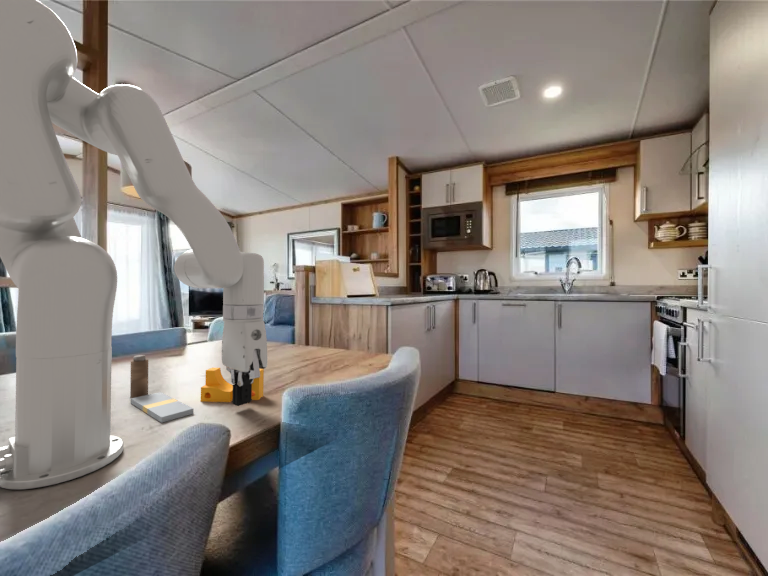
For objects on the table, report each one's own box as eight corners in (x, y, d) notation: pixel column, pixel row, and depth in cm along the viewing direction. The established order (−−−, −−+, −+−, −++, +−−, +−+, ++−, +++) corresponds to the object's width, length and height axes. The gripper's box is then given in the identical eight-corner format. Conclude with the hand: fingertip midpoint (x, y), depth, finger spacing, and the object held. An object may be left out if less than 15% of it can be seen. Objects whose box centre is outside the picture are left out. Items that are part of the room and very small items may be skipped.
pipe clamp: (200, 402, 71) (201, 372, 71) (211, 395, 75) (212, 367, 75) (255, 403, 70) (256, 373, 70) (263, 396, 75) (263, 368, 75)
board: (161, 422, 59) (161, 417, 59) (130, 403, 69) (130, 398, 69) (193, 413, 64) (193, 408, 64) (160, 396, 73) (160, 392, 73)
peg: (133, 399, 71) (133, 358, 71) (128, 396, 73) (128, 356, 73) (150, 395, 74) (150, 355, 74) (145, 392, 76) (145, 354, 76)
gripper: (281, 314, 65) (280, 406, 65) (241, 310, 74) (239, 391, 74) (246, 317, 59) (244, 418, 59) (207, 312, 68) (205, 400, 68)
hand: (242, 403), depth 66 cm, fingers closed
